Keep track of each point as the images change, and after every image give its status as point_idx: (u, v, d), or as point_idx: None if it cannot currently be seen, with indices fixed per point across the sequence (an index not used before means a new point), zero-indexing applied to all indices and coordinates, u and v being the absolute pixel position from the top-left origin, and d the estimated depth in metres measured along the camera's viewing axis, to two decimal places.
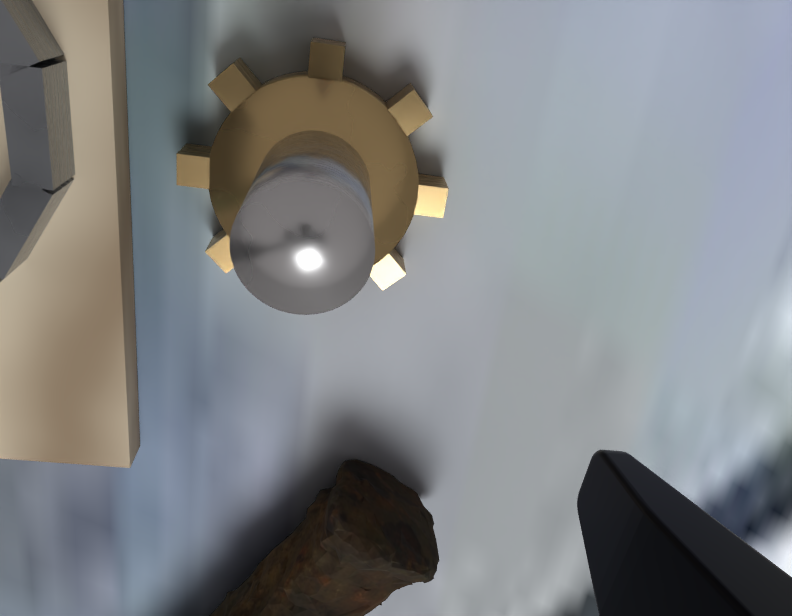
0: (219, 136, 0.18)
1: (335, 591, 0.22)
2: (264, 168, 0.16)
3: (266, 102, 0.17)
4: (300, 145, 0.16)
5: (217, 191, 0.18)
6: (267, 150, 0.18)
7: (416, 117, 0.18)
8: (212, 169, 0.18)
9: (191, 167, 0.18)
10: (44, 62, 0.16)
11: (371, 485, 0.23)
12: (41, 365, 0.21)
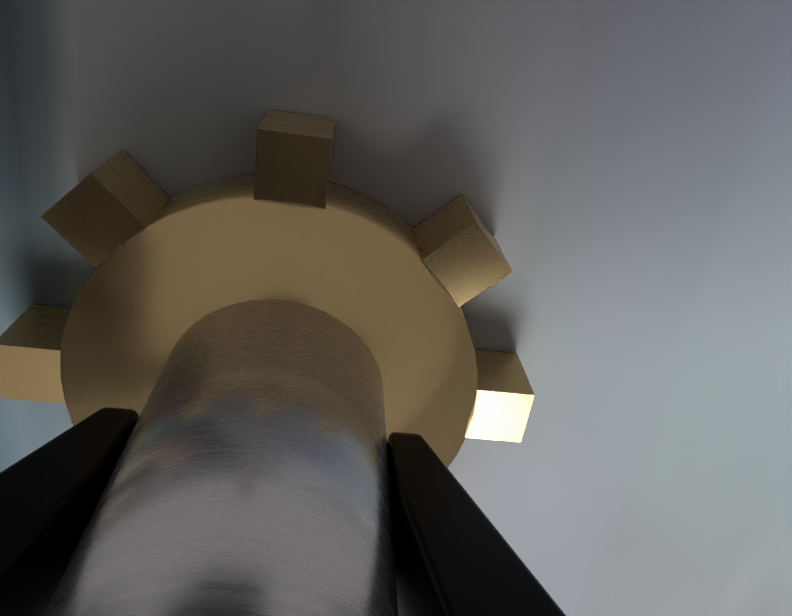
0: (77, 313, 0.09)
1: None
2: (139, 441, 0.07)
3: (169, 249, 0.08)
4: (230, 367, 0.07)
5: (83, 407, 0.09)
6: (177, 335, 0.09)
7: (479, 273, 0.09)
8: (69, 370, 0.09)
9: (26, 368, 0.09)
10: None
11: None
12: None
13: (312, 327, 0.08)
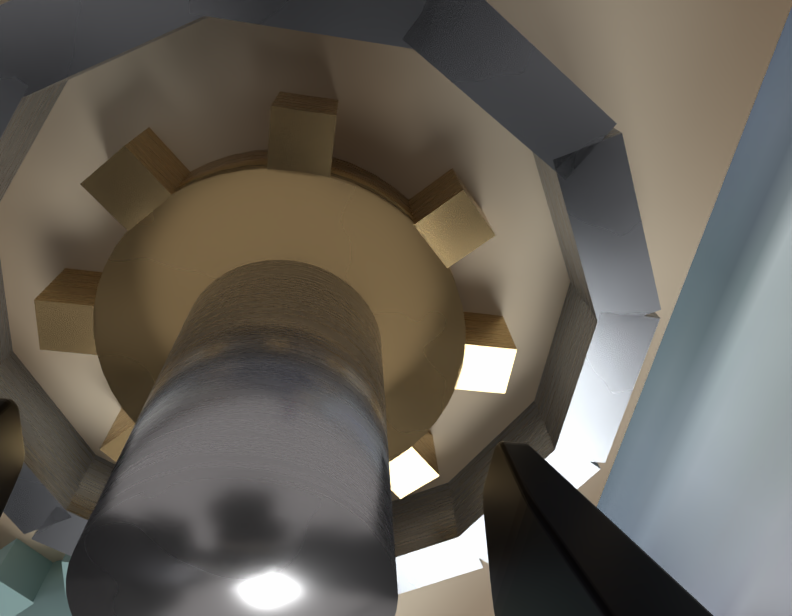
0: (109, 271, 0.10)
1: None
2: (171, 371, 0.08)
3: (192, 213, 0.09)
4: (248, 312, 0.08)
5: (113, 359, 0.11)
6: (198, 292, 0.10)
7: (466, 236, 0.10)
8: (101, 324, 0.10)
9: (63, 322, 0.10)
10: None
11: None
12: None
13: (318, 283, 0.10)
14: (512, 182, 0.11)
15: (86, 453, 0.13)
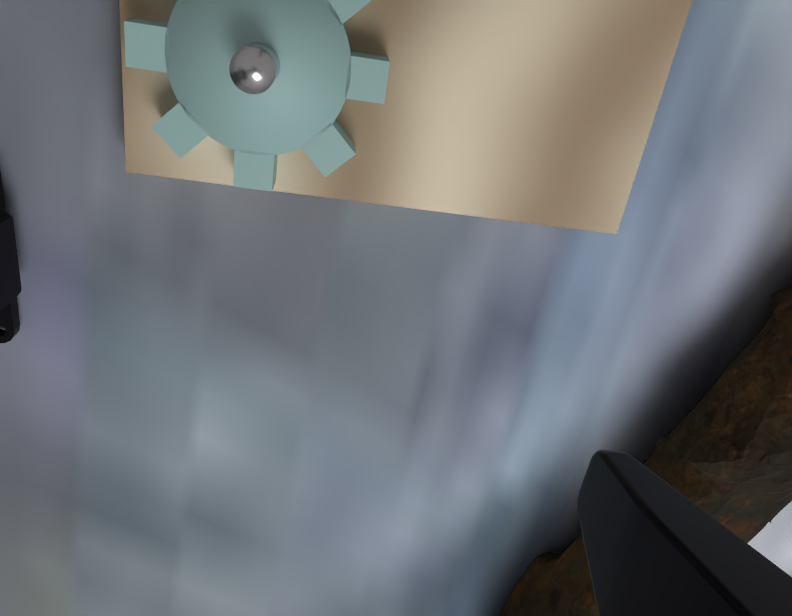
0: None
1: None
2: None
3: None
4: None
5: None
6: None
7: None
8: None
9: None
10: None
11: None
12: (569, 80, 0.17)
13: None
14: None
15: None
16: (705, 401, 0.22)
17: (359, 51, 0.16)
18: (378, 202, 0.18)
